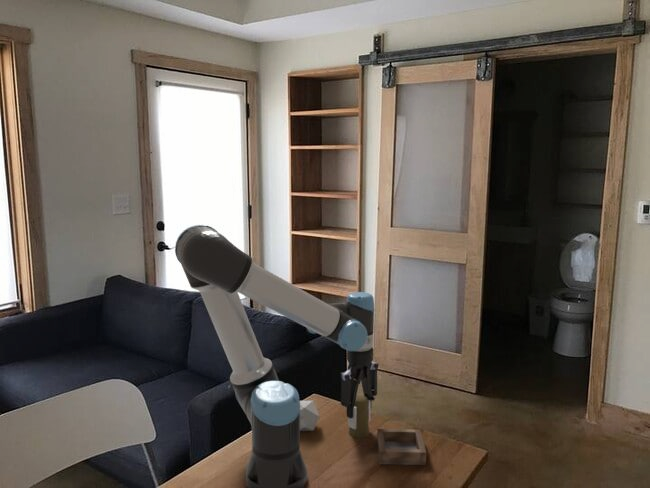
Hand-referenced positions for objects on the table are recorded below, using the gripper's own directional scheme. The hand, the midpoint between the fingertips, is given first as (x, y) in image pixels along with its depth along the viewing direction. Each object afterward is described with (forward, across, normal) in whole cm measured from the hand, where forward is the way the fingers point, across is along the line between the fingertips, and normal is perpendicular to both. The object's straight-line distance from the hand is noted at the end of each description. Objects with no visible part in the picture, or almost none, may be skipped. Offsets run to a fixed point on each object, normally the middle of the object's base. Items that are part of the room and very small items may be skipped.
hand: (359, 423), depth 156 cm
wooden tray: (+3, +1, -15) cm, 15 cm away
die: (+3, -10, +13) cm, 16 cm away
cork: (+3, 0, 0) cm, 3 cm away
